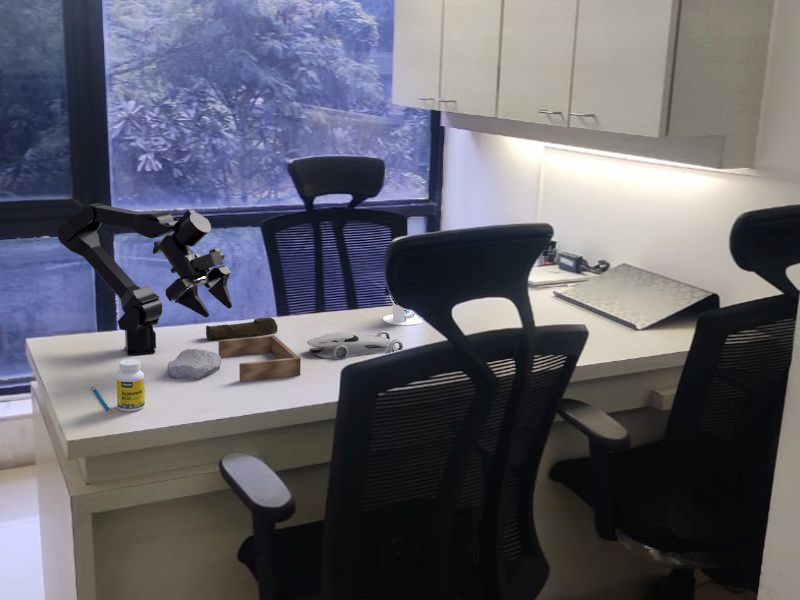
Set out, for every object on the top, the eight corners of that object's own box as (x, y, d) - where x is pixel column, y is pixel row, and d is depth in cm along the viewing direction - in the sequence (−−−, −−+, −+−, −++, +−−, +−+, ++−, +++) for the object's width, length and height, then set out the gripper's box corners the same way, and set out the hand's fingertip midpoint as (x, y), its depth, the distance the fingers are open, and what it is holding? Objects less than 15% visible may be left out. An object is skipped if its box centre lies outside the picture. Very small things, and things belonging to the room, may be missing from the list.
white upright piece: (411, 328, 249) (413, 275, 245) (375, 322, 253) (376, 270, 250) (429, 318, 259) (431, 267, 256) (393, 313, 264) (395, 263, 260)
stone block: (223, 373, 212) (183, 361, 213) (226, 354, 211) (186, 343, 212) (205, 391, 201) (163, 379, 202) (209, 371, 200) (166, 359, 200)
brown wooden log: (208, 342, 230) (208, 325, 228) (205, 338, 233) (204, 321, 232) (280, 336, 237) (280, 319, 236) (275, 332, 241) (275, 315, 240)
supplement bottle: (119, 413, 180) (117, 367, 178) (116, 404, 185) (114, 359, 182) (147, 410, 182) (145, 364, 180) (143, 401, 187) (141, 356, 184)
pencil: (95, 389, 194) (95, 386, 194) (113, 415, 180) (113, 412, 179) (91, 389, 193) (91, 386, 193) (109, 416, 179) (109, 413, 179)
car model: (406, 354, 227) (407, 335, 226) (314, 362, 217) (314, 342, 216) (389, 341, 237) (390, 323, 236) (300, 349, 227) (301, 330, 226)
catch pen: (240, 381, 201) (240, 364, 200) (218, 356, 218) (218, 340, 217) (300, 375, 207) (300, 358, 206) (274, 350, 224) (274, 335, 223)
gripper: (177, 243, 197) (217, 301, 196) (225, 231, 214) (263, 284, 213) (147, 272, 202) (187, 328, 201) (197, 258, 219) (233, 310, 218)
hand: (219, 312), depth 208 cm, fingers open, 9 cm apart
